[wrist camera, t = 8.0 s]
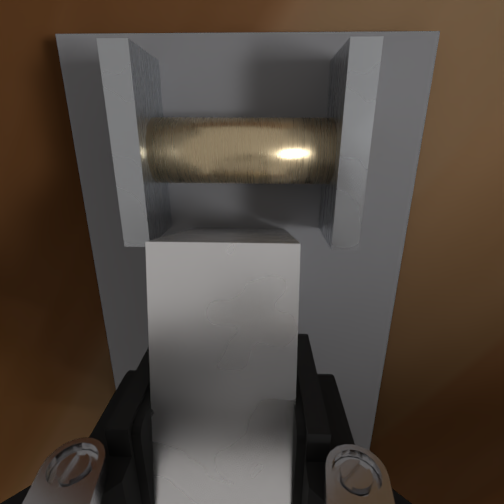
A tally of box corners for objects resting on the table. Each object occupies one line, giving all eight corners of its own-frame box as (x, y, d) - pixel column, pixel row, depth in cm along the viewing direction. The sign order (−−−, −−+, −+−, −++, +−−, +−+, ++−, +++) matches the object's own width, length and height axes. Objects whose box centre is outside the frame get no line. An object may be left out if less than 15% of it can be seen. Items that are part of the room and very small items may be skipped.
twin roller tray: (356, 59, 10) (383, 36, 8) (314, 490, 17) (322, 548, 14) (134, 60, 10) (96, 38, 8) (178, 484, 17) (164, 540, 15)
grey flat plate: (430, 37, 10) (440, 31, 10) (357, 490, 17) (360, 502, 17) (66, 39, 11) (55, 34, 10) (137, 481, 18) (133, 492, 17)
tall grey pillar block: (285, 229, 12) (300, 243, 7) (279, 469, 14) (289, 620, 9) (192, 228, 12) (145, 241, 7) (196, 466, 14) (157, 613, 9)
